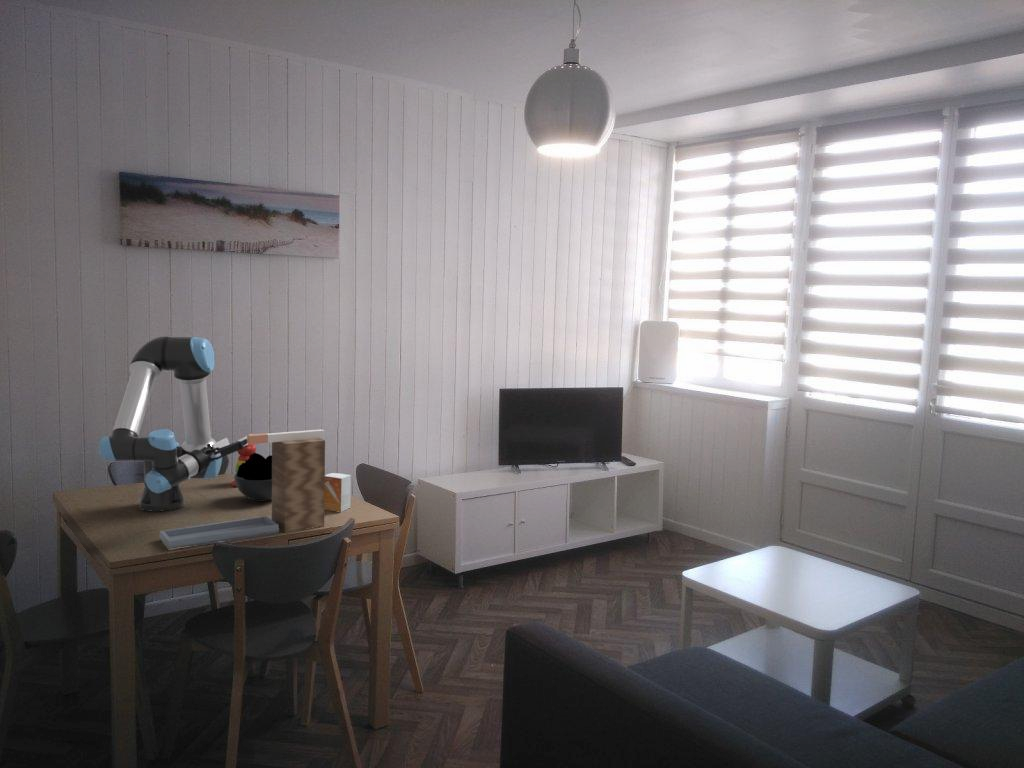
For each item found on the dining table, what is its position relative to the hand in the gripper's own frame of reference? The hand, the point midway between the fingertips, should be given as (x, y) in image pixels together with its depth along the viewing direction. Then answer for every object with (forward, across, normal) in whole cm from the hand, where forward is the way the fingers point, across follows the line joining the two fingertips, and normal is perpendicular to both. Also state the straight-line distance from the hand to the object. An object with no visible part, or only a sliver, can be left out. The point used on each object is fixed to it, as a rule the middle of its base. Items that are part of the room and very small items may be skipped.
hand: (240, 439), depth 269 cm
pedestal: (-4, +17, -32) cm, 37 cm away
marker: (0, +22, -3) cm, 23 cm away
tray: (-27, +8, -24) cm, 37 cm away
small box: (+18, +13, -38) cm, 44 cm away
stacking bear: (+25, -40, -27) cm, 54 cm away
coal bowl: (+12, -17, -29) cm, 35 cm away
